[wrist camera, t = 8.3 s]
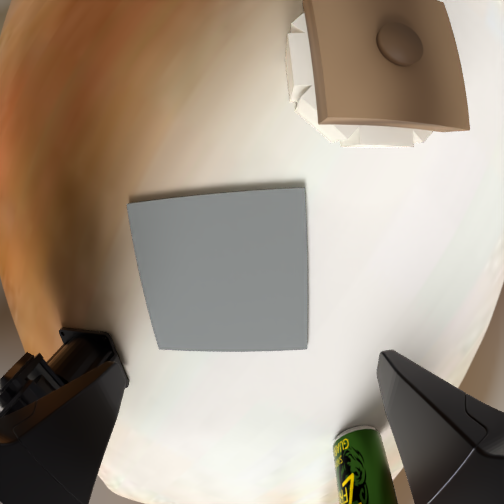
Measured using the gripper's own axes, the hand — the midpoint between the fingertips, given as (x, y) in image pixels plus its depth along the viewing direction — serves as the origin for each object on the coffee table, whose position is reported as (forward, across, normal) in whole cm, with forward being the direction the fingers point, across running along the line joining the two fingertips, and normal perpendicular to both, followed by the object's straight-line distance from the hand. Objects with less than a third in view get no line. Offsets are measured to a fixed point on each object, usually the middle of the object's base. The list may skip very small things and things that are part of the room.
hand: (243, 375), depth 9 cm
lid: (+7, -7, -11) cm, 15 cm away
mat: (+12, +3, +1) cm, 12 cm away
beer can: (+12, -9, +22) cm, 26 cm away
